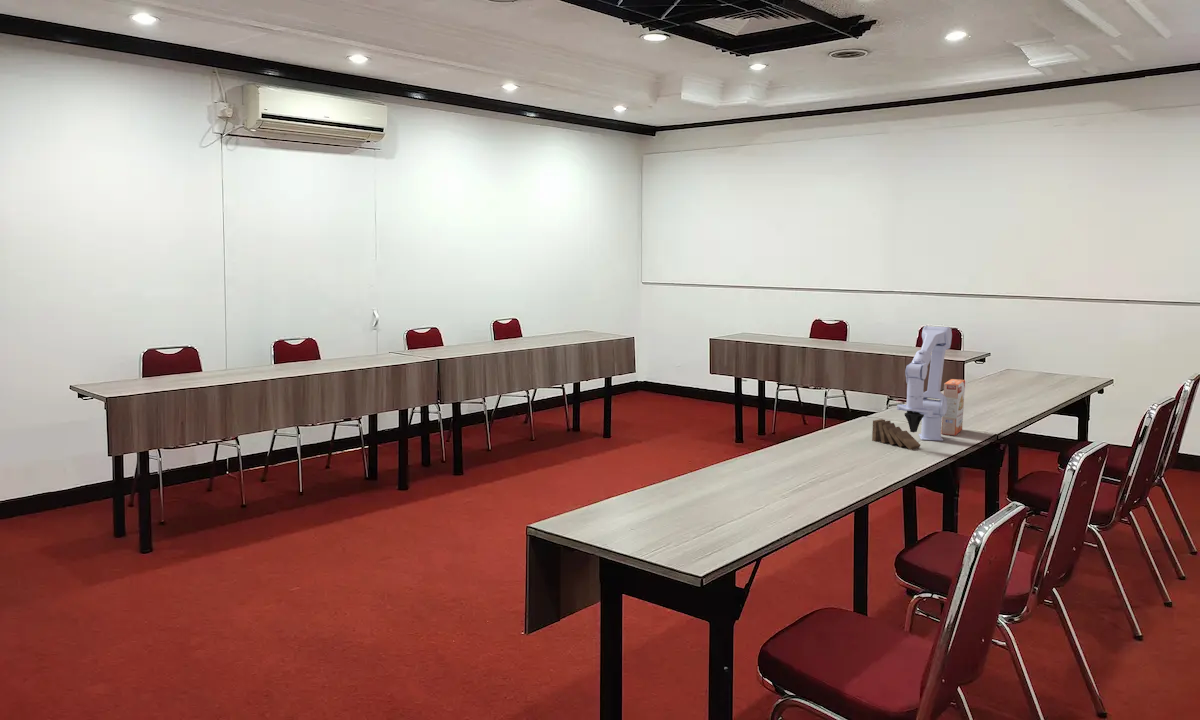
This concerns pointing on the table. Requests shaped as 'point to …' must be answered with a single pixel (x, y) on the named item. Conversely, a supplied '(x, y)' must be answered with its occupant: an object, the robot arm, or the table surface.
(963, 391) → the cracker box
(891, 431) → the domino
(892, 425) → the domino
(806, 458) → the table surface
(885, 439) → the domino
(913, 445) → the domino
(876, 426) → the domino
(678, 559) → the table surface
